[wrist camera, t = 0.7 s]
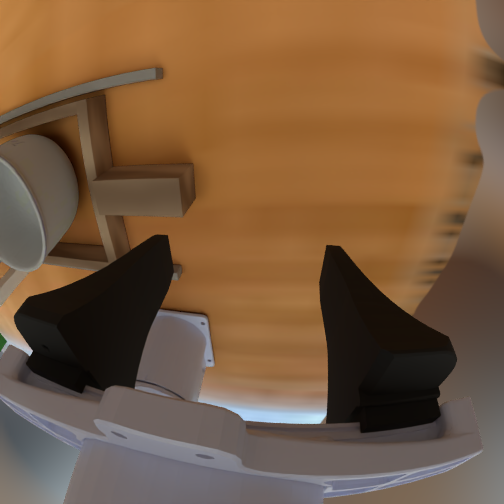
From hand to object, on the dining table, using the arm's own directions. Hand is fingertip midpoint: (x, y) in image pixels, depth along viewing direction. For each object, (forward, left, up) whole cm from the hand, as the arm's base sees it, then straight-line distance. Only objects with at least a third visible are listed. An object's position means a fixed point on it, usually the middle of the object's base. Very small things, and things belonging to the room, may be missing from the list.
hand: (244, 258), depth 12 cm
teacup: (0, +21, -10) cm, 23 cm away
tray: (0, +18, -9) cm, 20 cm away
